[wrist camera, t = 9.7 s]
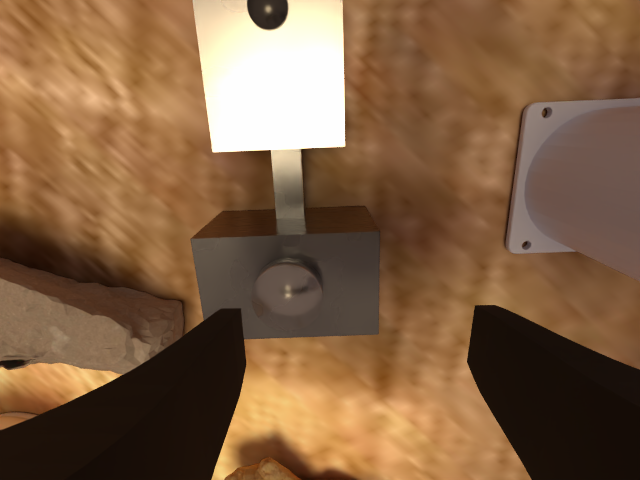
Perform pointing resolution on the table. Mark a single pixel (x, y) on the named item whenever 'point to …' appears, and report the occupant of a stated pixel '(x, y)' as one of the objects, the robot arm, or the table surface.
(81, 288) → the concrete fragment
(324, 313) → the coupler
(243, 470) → the ginger root
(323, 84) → the notched block with hole
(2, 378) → the table surface
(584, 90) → the table surface
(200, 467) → the robot arm
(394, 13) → the table surface
